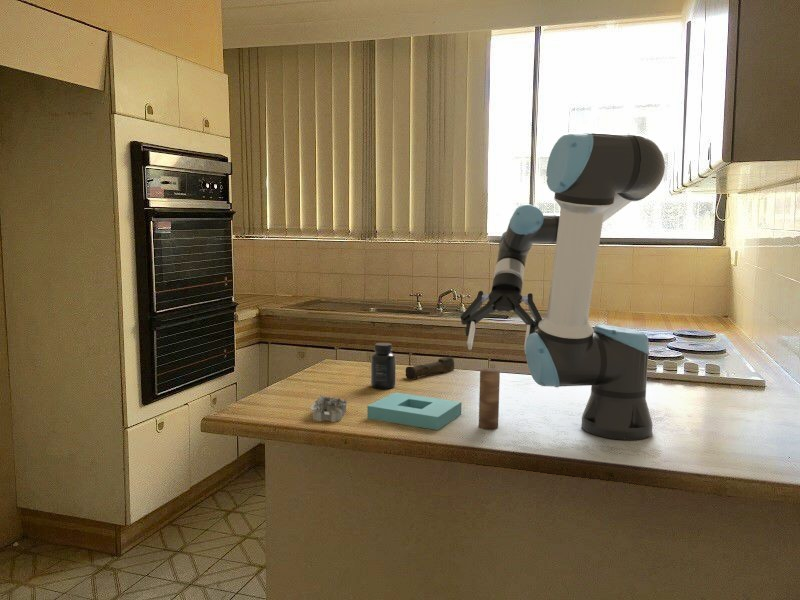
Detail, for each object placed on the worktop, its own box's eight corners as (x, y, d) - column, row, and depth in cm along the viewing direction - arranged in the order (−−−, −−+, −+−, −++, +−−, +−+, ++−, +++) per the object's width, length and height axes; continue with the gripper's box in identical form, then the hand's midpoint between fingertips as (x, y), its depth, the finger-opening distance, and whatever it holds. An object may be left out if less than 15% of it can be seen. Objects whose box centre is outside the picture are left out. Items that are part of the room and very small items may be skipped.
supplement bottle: (400, 386, 185) (401, 344, 184) (383, 390, 181) (383, 347, 179) (382, 382, 190) (383, 340, 189) (365, 386, 185) (366, 344, 184)
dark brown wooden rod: (413, 381, 193) (413, 365, 192) (404, 378, 196) (404, 363, 195) (460, 372, 205) (460, 357, 204) (451, 370, 208) (451, 355, 207)
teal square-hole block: (461, 414, 160) (461, 401, 160) (437, 430, 148) (438, 417, 147) (394, 403, 168) (395, 392, 168) (367, 418, 156) (367, 405, 155)
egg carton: (340, 424, 152) (340, 406, 152) (308, 422, 153) (308, 404, 153) (349, 410, 163) (349, 394, 162) (319, 408, 164) (319, 392, 163)
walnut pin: (500, 425, 151) (502, 369, 150) (494, 430, 148) (496, 373, 146) (482, 422, 153) (484, 367, 152) (475, 427, 150) (477, 371, 148)
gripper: (557, 291, 171) (550, 360, 158) (462, 287, 178) (448, 353, 165) (557, 272, 165) (550, 342, 153) (458, 269, 172) (444, 335, 160)
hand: (497, 348), depth 159 cm, fingers open, 13 cm apart
